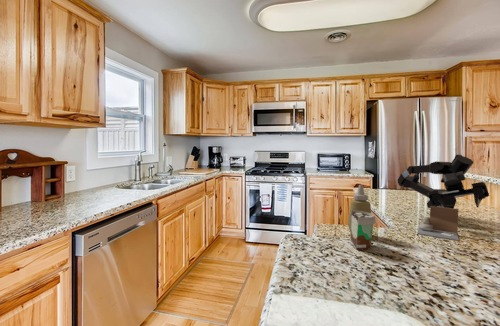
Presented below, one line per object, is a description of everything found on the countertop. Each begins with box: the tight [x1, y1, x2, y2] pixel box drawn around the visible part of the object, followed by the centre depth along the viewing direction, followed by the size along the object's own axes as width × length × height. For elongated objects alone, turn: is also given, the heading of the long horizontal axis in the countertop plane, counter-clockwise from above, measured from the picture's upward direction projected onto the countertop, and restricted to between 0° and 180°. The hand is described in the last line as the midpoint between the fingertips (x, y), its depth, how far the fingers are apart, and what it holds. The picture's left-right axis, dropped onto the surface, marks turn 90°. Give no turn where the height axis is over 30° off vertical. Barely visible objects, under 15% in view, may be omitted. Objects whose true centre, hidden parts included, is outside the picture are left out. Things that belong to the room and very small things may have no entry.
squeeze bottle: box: [347, 184, 372, 234], centre depth 94 cm, size 8×8×18 cm
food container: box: [350, 210, 376, 251], centre depth 82 cm, size 12×6×10 cm, turn 168°
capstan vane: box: [419, 206, 459, 234], centre depth 99 cm, size 4×12×9 cm, turn 56°
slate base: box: [417, 225, 460, 242], centre depth 99 cm, size 14×12×1 cm
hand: (461, 208), depth 98 cm, fingers open, 9 cm apart
